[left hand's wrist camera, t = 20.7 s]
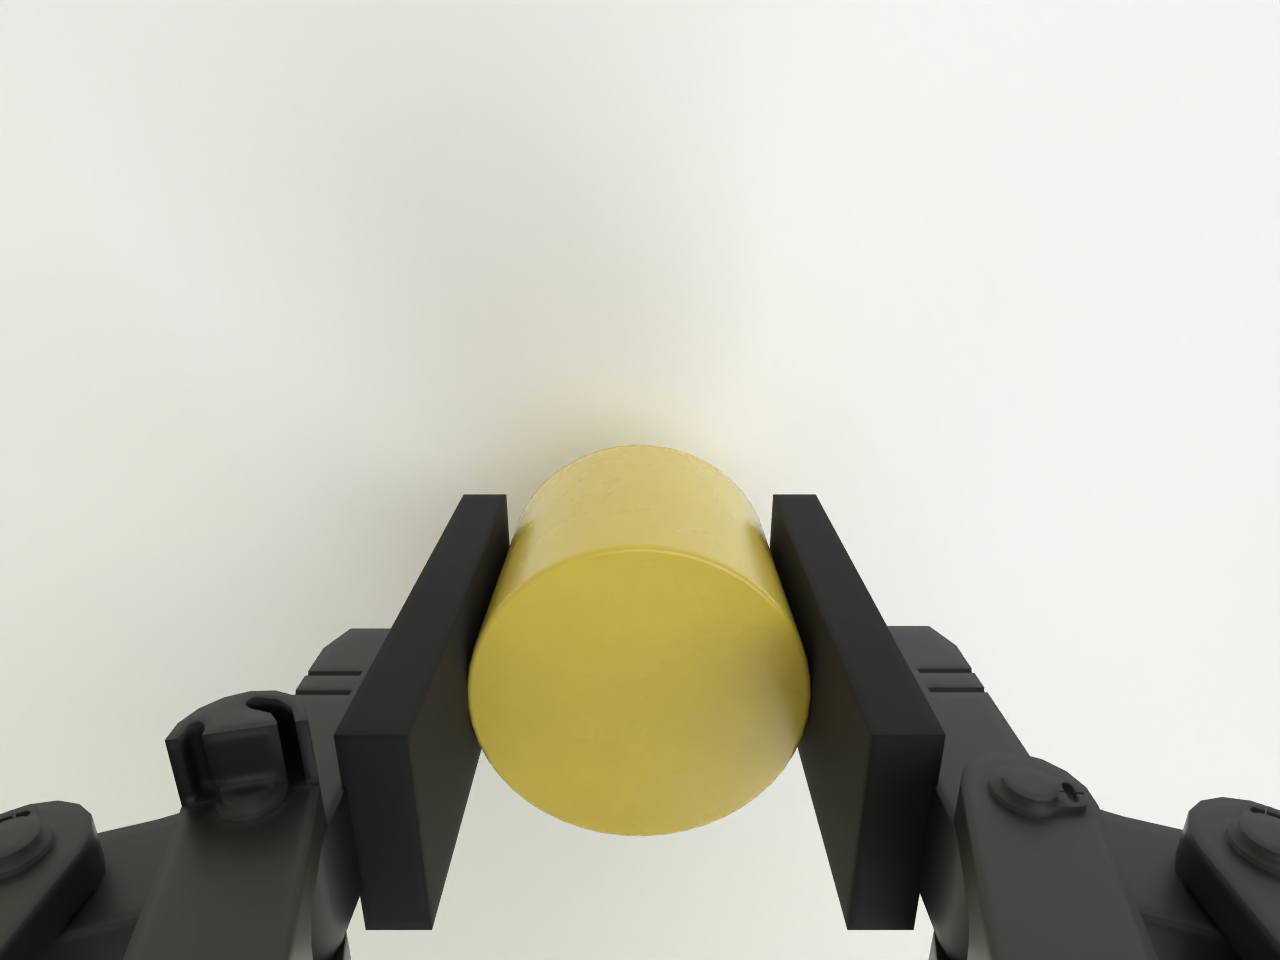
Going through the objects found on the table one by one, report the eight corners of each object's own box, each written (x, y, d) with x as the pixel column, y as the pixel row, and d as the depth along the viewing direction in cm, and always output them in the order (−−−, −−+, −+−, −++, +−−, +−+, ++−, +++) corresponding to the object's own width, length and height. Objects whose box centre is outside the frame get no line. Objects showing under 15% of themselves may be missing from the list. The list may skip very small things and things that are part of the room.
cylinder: (763, 670, 16) (804, 835, 12) (522, 675, 16) (482, 841, 12) (770, 440, 14) (821, 541, 10) (501, 447, 14) (446, 551, 10)
